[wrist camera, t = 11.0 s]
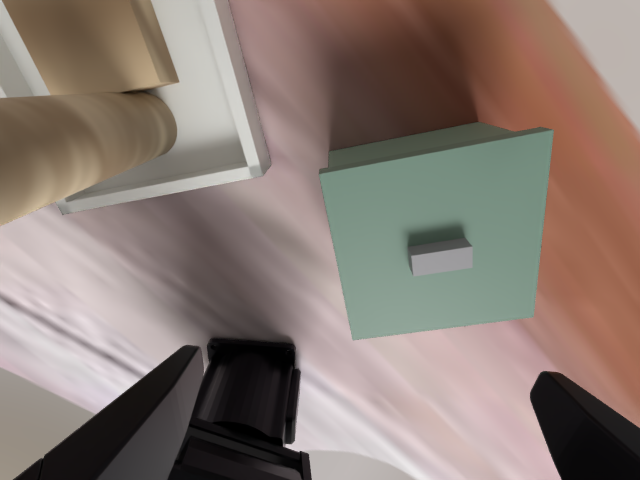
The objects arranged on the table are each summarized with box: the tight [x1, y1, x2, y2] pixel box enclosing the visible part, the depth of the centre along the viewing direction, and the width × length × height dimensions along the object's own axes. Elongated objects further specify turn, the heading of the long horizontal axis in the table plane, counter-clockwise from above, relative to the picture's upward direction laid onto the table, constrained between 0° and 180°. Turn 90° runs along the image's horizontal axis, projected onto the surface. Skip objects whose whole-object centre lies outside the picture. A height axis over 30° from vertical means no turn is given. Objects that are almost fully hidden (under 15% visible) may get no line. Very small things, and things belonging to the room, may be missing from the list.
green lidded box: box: [319, 122, 554, 340], centre depth 16 cm, size 9×9×7 cm
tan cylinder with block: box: [0, 0, 179, 226], centre depth 10 cm, size 8×5×13 cm, turn 12°
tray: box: [0, 0, 271, 215], centre depth 15 cm, size 13×11×2 cm
